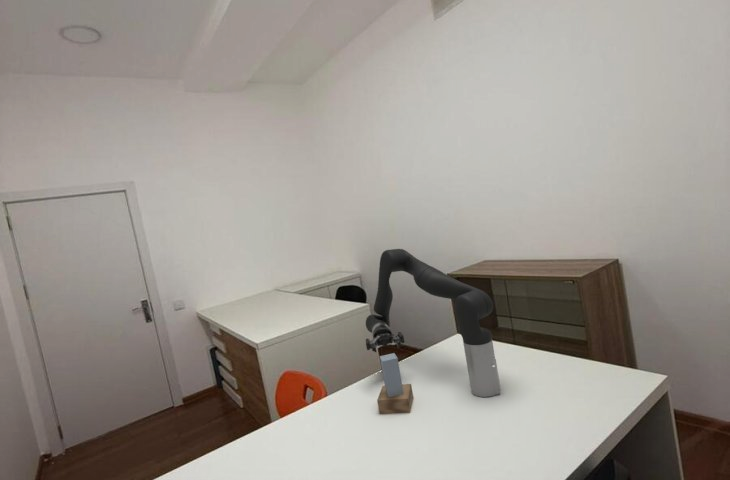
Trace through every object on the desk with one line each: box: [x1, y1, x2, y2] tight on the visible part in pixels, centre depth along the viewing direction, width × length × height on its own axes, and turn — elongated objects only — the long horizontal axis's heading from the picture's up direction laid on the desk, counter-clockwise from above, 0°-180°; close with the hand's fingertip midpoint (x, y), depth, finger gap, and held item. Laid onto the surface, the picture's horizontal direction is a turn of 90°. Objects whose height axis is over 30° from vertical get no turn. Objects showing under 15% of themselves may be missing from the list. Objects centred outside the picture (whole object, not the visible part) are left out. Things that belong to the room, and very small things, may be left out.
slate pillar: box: [379, 352, 404, 397], centre depth 128 cm, size 5×5×12 cm
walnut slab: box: [376, 383, 414, 415], centre depth 129 cm, size 10×10×5 cm
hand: (386, 347), depth 140 cm, fingers open, 8 cm apart
